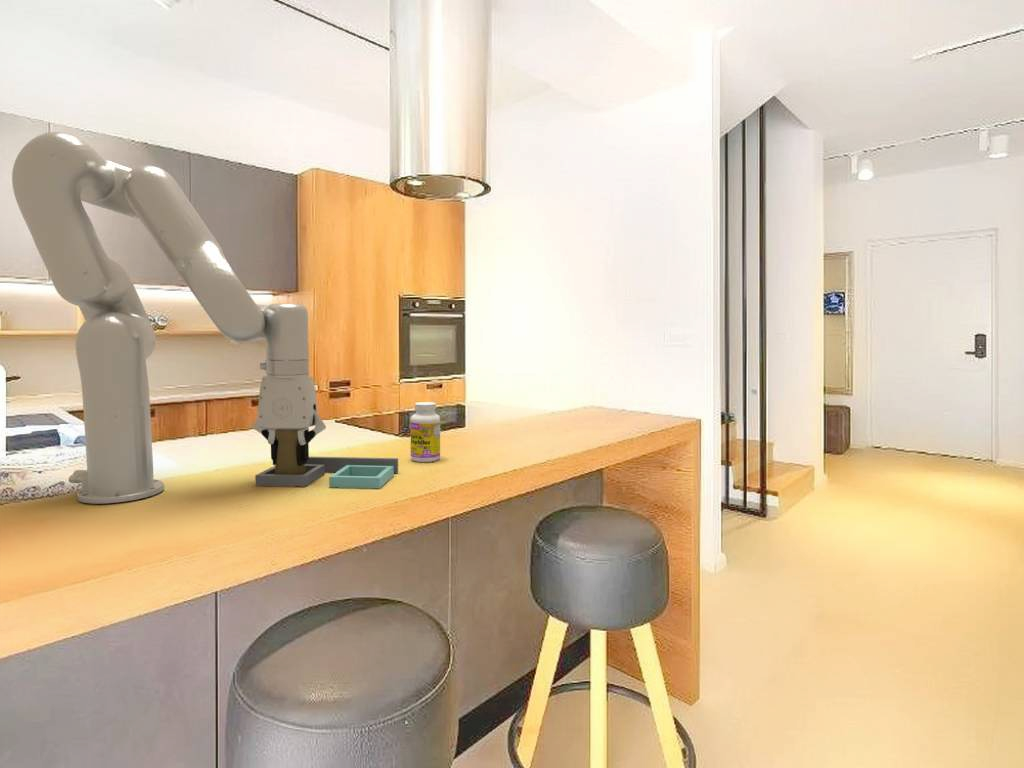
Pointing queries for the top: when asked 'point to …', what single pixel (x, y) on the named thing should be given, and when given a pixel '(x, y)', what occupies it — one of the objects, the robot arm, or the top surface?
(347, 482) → the panel
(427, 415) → the supplement bottle
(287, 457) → the cork
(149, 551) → the top surface
